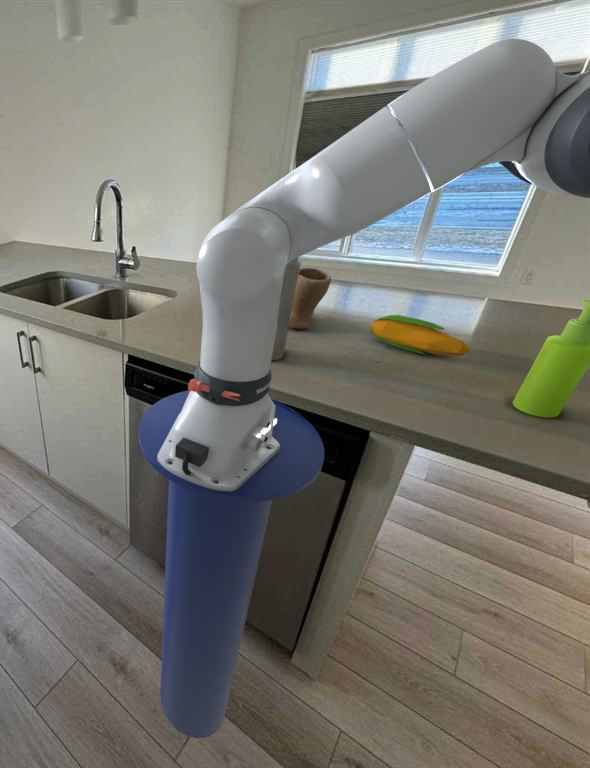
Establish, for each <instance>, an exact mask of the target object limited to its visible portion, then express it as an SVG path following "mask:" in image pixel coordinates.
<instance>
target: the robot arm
mask: <svg viewBox="0 0 590 768" xmlns="http://www.w3.org/2000/svg"><path fill="white" fill-rule="evenodd" d="M495 163H498V164H500V165H501V166H503V168H505V170H507V171H508V172H509V173H511V174H512V175H513V176H514V177H515V178H517V179H519V180H520V181H522V182H525V183H527V184H530V185H533V186H535V187H536V188H538V189H539V190H542V191H545V192H548V193H551V194H556V195H562V196H570V197H571V196H572V197H581V198H585V199H590V70H587V71H584V72H583V71H582V72H580V73H577V74H574V75H572V74H571V75H570V74H569V75H568V74H565V73H562V72H561V71H560V70H559V69H556V66H555V63H554V61H553V59H552V57H551V56H550V55H549V54H548V52H546V50H545V49H544V48H543V47H541V46H539V45H538V44H536V43H535V42H532V41H529V40H527V39H523V38H522V39H521V38H509V39H503V40H499V41H496V42H493V43H492V44H489V45H487V46H485V47H483V48H481V49H479V50H477V51H475V52H474V53H471V54H469V55H468V56H466V57H464V58H462V59H461V60H458V61H457V62H455V63H453V64H451V65H449V66H447V67H446V68H444V69H442V70H440V71H438V72H437V73H435V74H434V75H432V76H430V77H429V78H427V79H425V80H423V81H422V82H420V83H419V84H417V85H415V86H414V87H412V88H410V89H409V90H408V91H405V92H404V93H403V94H402V95H400V96H398V97H397V98H396V99H394V100H393V101H391V102H390V103H388V104H387V105H386V106H384V107H382V108H381V109H379V110H377V112H375V113H373V114H372V115H371V116H370V117H368V118H367V119H365V120H364V121H362V122H361V123H360V124H358V125H356V126H355V127H353V128H352V129H351V130H349V131H348V132H346V133H345V134H344V135H342V136H341V137H339V138H338V139H337V140H334V142H332V143H330V144H329V145H328V146H326V147H325V148H324V149H322V150H321V151H319V152H318V153H316V154H315V155H314V156H312V157H311V158H309V159H308V160H306V161H305V162H303V163H302V164H300V165H299V166H297V167H296V168H294V169H293V170H292V171H290V172H289V173H287V174H286V175H285V176H283V177H282V178H280V179H279V180H278V181H276V182H275V183H273V184H271V185H270V186H269V187H267V188H265V190H263V191H261V192H260V193H258V194H257V195H256V196H254V197H252V198H251V199H249V200H248V201H247V202H246V203H244V204H243V205H241V206H240V207H238V208H236V210H234V211H233V212H232V213H231V214H229V215H228V216H226V217H224V219H222V220H221V221H219V222H218V223H217V224H216V225H214V226H213V228H211V230H210V231H208V233H207V234H206V236H205V237H204V239H203V241H202V243H201V246H200V248H199V252H198V256H197V260H196V268H195V269H196V276H197V279H198V282H199V293H200V294H199V295H200V303H201V312H202V313H201V314H202V330H201V331H202V332H201V342H200V356H199V357H200V359H199V360H198V363H197V366H196V368H195V370H194V371H195V372H194V378H192V379H190V380H189V381H188V384H187V385H188V386H187V391H190V393H189V395H188V397H187V399H186V402H185V404H184V406H183V408H182V411H181V413H180V414H179V415H178V417H177V419H176V421H175V423H174V425H173V427H172V429H171V430H170V432H169V434H168V436H167V438H166V440H165V442H164V444H163V445H162V447H161V449H160V451H159V453H158V457H157V460H158V462H159V463H160V464H161V465H162V466H163V467H164V468H165V469H167V470H168V471H169V472H171V473H173V474H174V475H176V476H178V477H180V478H182V479H184V480H186V481H189V482H191V483H194V484H196V485H199V486H202V487H205V488H209V489H213V490H218V491H231V492H232V491H235V490H237V489H238V488H239V487H240V486H241V485H242V484H244V483H245V482H246V481H247V480H248V479H249V478H250V477H251V476H252V475H253V474H255V473H256V472H257V471H258V470H259V469H260V468H261V467H262V466H263V465H264V464H265V463H267V462H268V461H269V460H270V459H271V458H272V457H273V456H274V455H275V454H276V453H278V452H279V450H280V444H279V443H278V442H277V441H276V440H275V439H274V438H273V437H272V431H273V426H274V425H275V424H276V422H277V419H274V415H275V405H274V403H273V402H272V400H273V399H272V398H271V396H270V395H269V391H270V387H271V384H272V380H273V379H272V375H273V374H272V372H273V370H272V367H271V363H272V360H271V358H272V352H273V346H274V341H275V335H276V329H277V321H278V312H279V304H280V296H281V289H282V283H283V276H284V271H285V267H286V265H287V264H288V263H289V262H291V261H292V260H294V259H296V258H298V259H299V258H300V257H302V256H305V255H306V254H308V253H310V252H312V251H315V250H317V249H319V248H322V247H324V246H327V245H329V244H331V243H334V242H336V241H338V240H341V239H343V238H346V237H351V236H353V235H356V234H357V233H360V232H361V231H363V230H365V229H367V228H368V227H371V226H372V225H374V224H376V223H379V222H380V221H382V220H383V219H385V218H387V217H390V216H391V215H393V214H395V213H397V212H398V211H400V210H402V209H404V208H405V207H407V206H409V205H411V204H413V203H415V202H417V201H419V200H420V199H422V198H424V197H427V196H428V195H430V194H431V193H432V192H433V193H434V192H435V191H437V190H438V189H441V188H442V187H445V186H447V184H449V183H451V182H453V181H455V180H457V179H458V178H460V177H461V176H463V175H465V174H468V173H470V172H473V171H476V170H478V169H481V168H483V167H486V166H488V165H491V164H495ZM170 464H171V465H170ZM215 483H217V484H215Z"/></svg>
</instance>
